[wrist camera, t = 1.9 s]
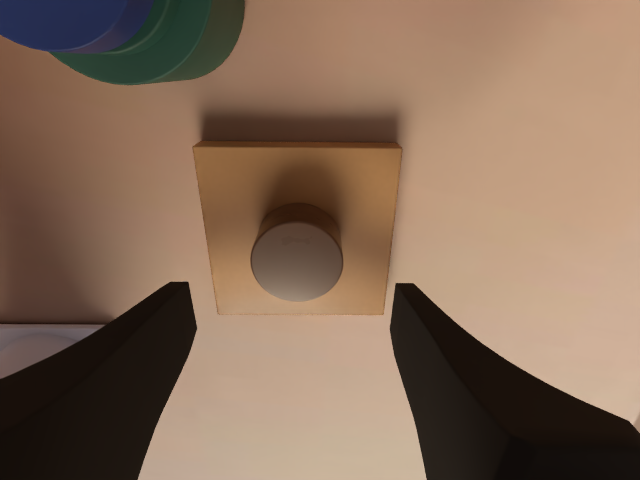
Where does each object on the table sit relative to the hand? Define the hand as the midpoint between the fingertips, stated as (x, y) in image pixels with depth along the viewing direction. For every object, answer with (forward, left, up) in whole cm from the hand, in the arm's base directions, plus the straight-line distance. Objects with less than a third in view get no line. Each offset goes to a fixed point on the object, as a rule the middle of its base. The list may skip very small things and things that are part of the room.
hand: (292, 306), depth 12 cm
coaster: (0, 0, -6) cm, 6 cm away
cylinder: (0, 0, -5) cm, 5 cm away
